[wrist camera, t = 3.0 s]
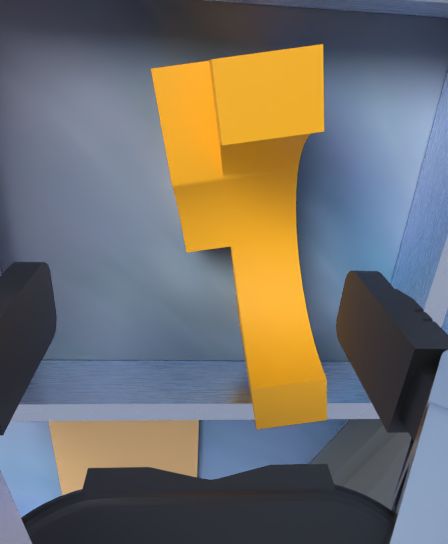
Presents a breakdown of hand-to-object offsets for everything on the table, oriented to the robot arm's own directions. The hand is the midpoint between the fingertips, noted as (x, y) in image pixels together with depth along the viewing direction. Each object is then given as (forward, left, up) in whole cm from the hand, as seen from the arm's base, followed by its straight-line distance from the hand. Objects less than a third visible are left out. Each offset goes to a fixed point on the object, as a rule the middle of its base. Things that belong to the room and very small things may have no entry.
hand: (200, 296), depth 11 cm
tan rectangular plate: (+4, +16, -7) cm, 18 cm away
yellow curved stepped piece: (-2, 0, -8) cm, 8 cm away
